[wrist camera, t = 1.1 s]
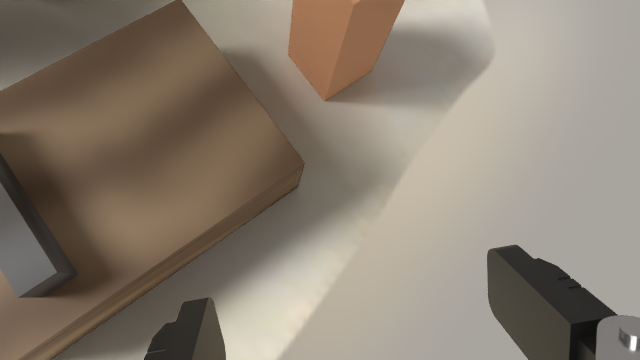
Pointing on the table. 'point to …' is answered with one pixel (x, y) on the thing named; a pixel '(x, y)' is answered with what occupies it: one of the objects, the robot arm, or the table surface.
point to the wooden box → (164, 271)
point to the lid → (121, 169)
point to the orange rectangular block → (339, 39)
